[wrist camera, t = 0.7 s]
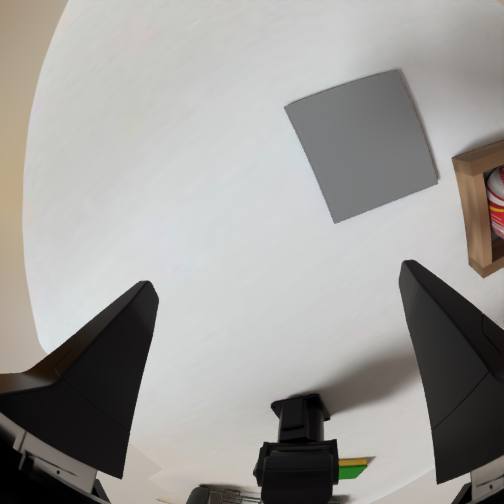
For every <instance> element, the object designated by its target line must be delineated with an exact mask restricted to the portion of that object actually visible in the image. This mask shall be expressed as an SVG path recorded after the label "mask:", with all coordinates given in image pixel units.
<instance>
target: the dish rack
mask: <svg viewBox="0 0 504 504" xmlns="http://www.w3.org/2000/svg"><path fill="white" fill-rule="evenodd" d="M226 490H228V491H233V492H238V493H239V496H237V495H231V494H225V492H226ZM212 493H218V494H221V497H220V502H219V504H221V503H222V501H223V500H222V498H223V497H224V496H222V495H228V496H234V497H241V499H236V500H240V501H239V503H235V504H241V502H242V498H247V499H255V500H260V502H258V504H261V503H263V502H262V499H259V498H251V497H244V496H240V493H241V492H240V491H237V490H231V489H225V491H224V493H220V492H215V491H211V492H210V490H209V489H207V488H203V487H196V488H195V489H193V491H192V492H191V494H190V496H189V498H188V500H187V502H186V504H210V500H211V495H212ZM225 498H230V497H225ZM230 499H235V498H230ZM331 499H332V498H331ZM331 499H330V502H328V503H327V504H340V502H338V501H336V502H333V501H331ZM243 501H249V500H243ZM224 502H228V501H224ZM250 502H256V501H250ZM229 503H234V502H229Z"/></svg>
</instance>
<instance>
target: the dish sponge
mask: <svg viewBox="0 0 504 504" xmlns="http://www.w3.org/2000/svg"><path fill="white" fill-rule="evenodd" d="M366 468H367V459H352V460H339V480H340V479H354V478H356V477H357V476H358V475H360V474H361V473H362V472H363V471H364V470H365V469H366Z"/></svg>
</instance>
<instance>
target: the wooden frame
mask: <svg viewBox="0 0 504 504" xmlns="http://www.w3.org/2000/svg"><path fill="white" fill-rule="evenodd" d="M452 162H453V166H454V170H455V174H456V178H457V183H458V187H459V192H460V198H461V203H462V209H463V215H464V222H465V229H466V238H467V247H468V259H469V265H470V266H471V267H472V268H473V269H474V270H475V271H476V272H477V273H478V274H479V275H480V276H481V277H482V278H485V277H487V276H489V275H491V274H492V273H494V272H496V271H498V270H499V269H501V268H503V267H504V239H503V238H499V239H498V240H496V241H494V242H492V243H491V231H490V220H489V211H488V203H487V196H486V190H485V184H484V178H483V173H484V172H486V171H488V170H491V169H493V168H496V167H498V166H501V165H503V164H504V140H502V141H499V142H496V143H493V144H490V145H487V146H484V147H482V148H479V149H476V150H473V151H470V152H468V153H465V154H462V155H459V156H457V157H454V158H452Z"/></svg>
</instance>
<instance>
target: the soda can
mask: <svg viewBox="0 0 504 504" xmlns="http://www.w3.org/2000/svg"><path fill="white" fill-rule="evenodd" d="M485 190H486V196H487V203H488V211H489V220H490V228H491V229H492V230H493V231H494V232H496V233H497V234H498V235H499V236H500V237H501V238H503V239H504V166H502V167H499V168H497V169H496V170H495V171H494V172H493V173H492V174H491V175H490V177H489V179H488V181H487V183H486V186H485Z"/></svg>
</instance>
